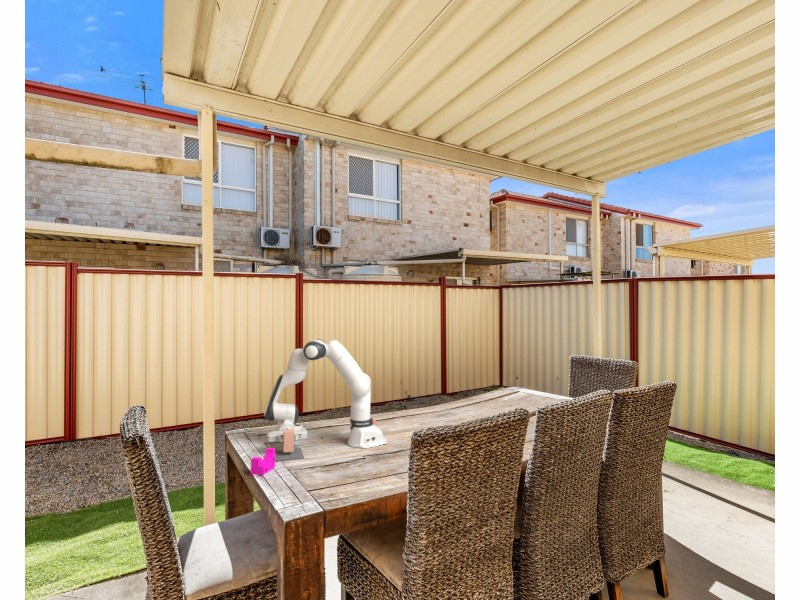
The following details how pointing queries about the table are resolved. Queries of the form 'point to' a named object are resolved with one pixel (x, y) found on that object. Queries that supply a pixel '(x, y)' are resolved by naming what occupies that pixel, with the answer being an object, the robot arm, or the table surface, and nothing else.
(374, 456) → the table surface
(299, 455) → the mat
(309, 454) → the table surface
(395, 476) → the table surface
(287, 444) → the pillar block
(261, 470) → the toy block
